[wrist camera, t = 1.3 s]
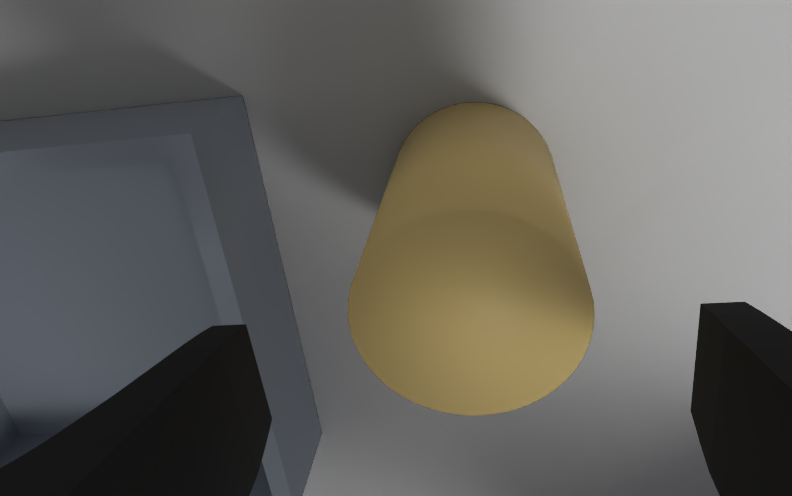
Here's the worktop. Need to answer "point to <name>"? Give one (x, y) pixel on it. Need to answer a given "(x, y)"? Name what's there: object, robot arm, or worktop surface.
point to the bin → (140, 268)
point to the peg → (472, 269)
